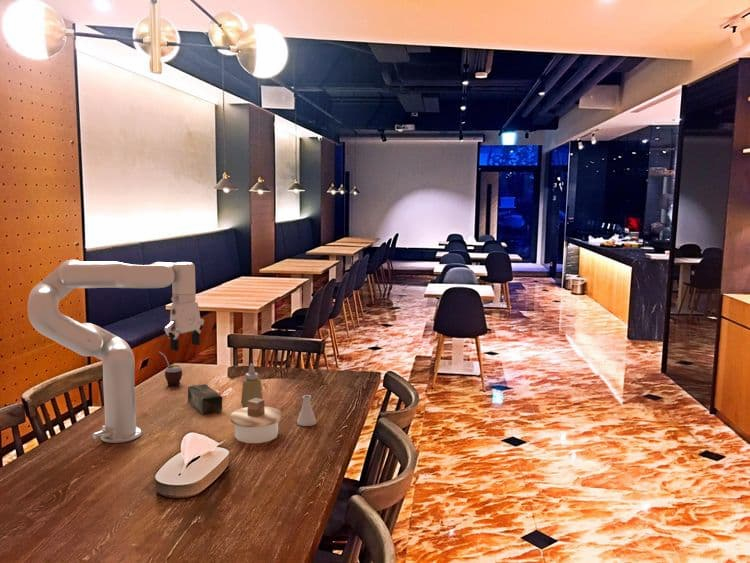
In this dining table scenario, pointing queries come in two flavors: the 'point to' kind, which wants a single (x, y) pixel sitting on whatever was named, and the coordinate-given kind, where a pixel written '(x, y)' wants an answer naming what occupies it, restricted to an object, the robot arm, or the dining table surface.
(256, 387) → the squeeze bottle
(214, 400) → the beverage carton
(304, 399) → the flask
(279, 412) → the lid
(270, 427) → the bowl
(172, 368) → the mate gourd
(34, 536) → the dining table surface
